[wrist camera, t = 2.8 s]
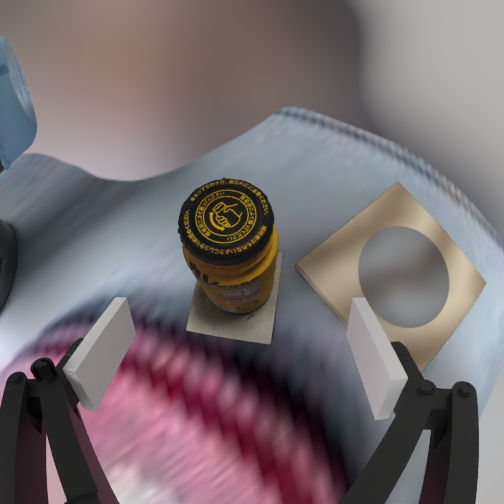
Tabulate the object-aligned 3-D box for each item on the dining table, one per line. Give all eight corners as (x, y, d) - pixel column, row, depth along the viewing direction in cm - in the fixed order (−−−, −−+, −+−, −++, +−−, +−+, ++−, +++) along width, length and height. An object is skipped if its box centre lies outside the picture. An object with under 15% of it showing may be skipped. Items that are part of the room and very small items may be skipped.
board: (294, 267, 27) (296, 262, 26) (394, 187, 30) (398, 181, 29) (398, 390, 22) (404, 390, 21) (480, 286, 25) (487, 282, 24)
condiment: (282, 252, 28) (295, 171, 17) (270, 344, 25) (277, 320, 14) (205, 242, 28) (174, 161, 17) (187, 331, 25) (131, 295, 14)
